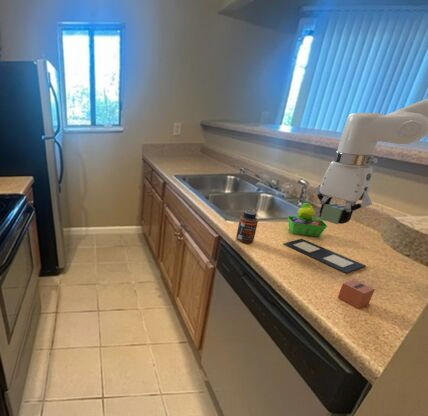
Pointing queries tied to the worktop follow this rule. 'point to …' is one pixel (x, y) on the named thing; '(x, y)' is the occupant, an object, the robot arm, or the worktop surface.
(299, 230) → the fruit basket
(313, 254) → the word mat
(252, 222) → the supplement bottle
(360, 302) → the block
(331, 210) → the block
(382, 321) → the worktop surface
